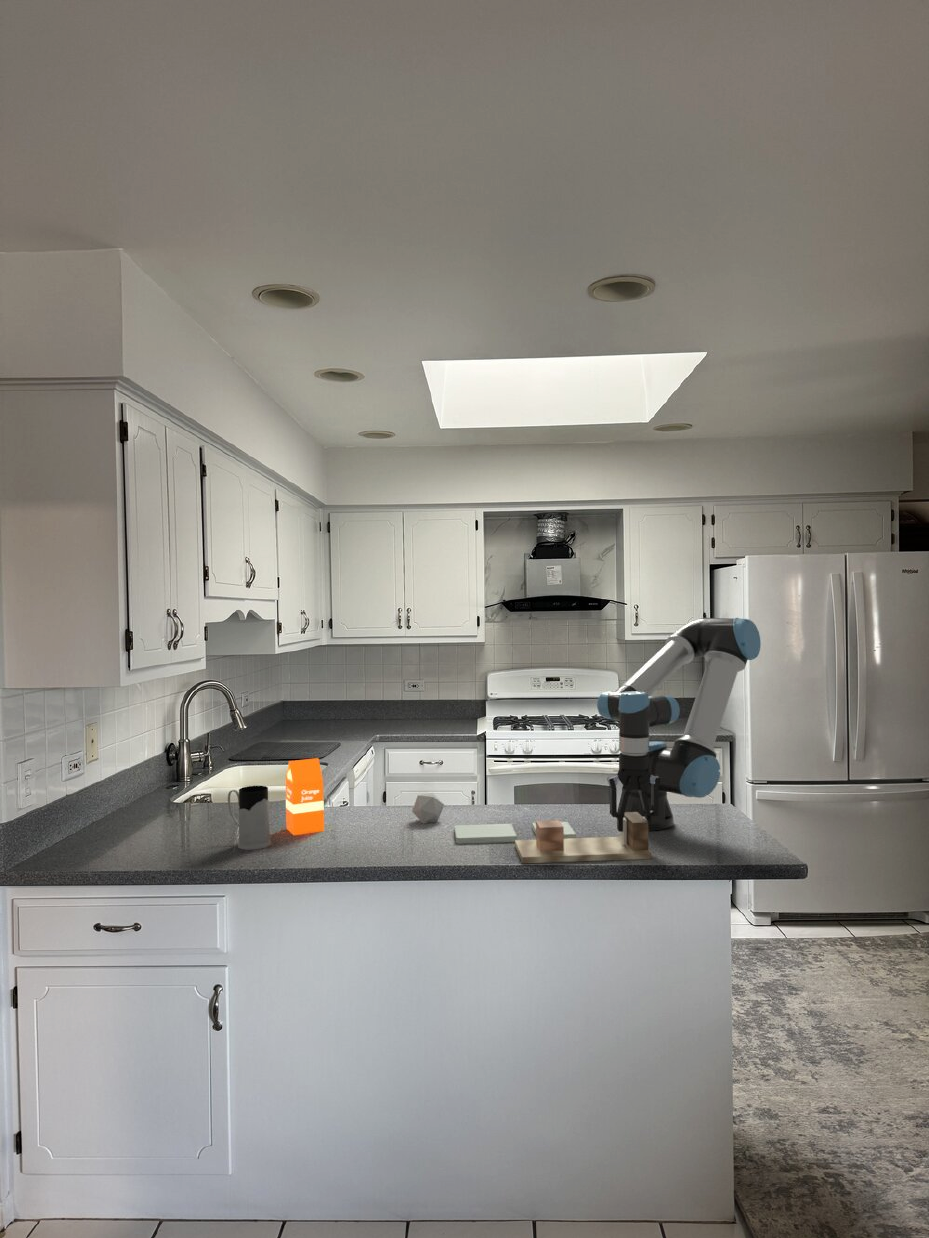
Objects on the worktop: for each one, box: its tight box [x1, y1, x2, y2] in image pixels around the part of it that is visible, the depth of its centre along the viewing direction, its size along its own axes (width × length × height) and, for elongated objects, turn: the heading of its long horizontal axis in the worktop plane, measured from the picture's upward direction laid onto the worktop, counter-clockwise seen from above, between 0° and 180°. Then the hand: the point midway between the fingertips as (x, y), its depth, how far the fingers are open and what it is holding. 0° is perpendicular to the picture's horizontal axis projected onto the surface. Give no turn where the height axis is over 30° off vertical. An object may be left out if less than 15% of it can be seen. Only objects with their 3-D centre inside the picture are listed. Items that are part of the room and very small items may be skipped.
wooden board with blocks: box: [514, 812, 652, 864], centre depth 208 cm, size 32×14×8 cm, turn 94°
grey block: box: [411, 792, 445, 824], centre depth 239 cm, size 8×9×10 cm
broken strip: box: [453, 821, 577, 845], centre depth 224 cm, size 32×12×2 cm, turn 94°
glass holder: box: [227, 785, 272, 851], centre depth 220 cm, size 9×14×15 cm, turn 57°
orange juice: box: [285, 757, 325, 836], centre depth 231 cm, size 8×9×20 cm
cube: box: [535, 819, 564, 851], centre depth 207 cm, size 6×6×6 cm
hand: (633, 843), depth 209 cm, fingers closed on wooden board with blocks, 5 cm apart
